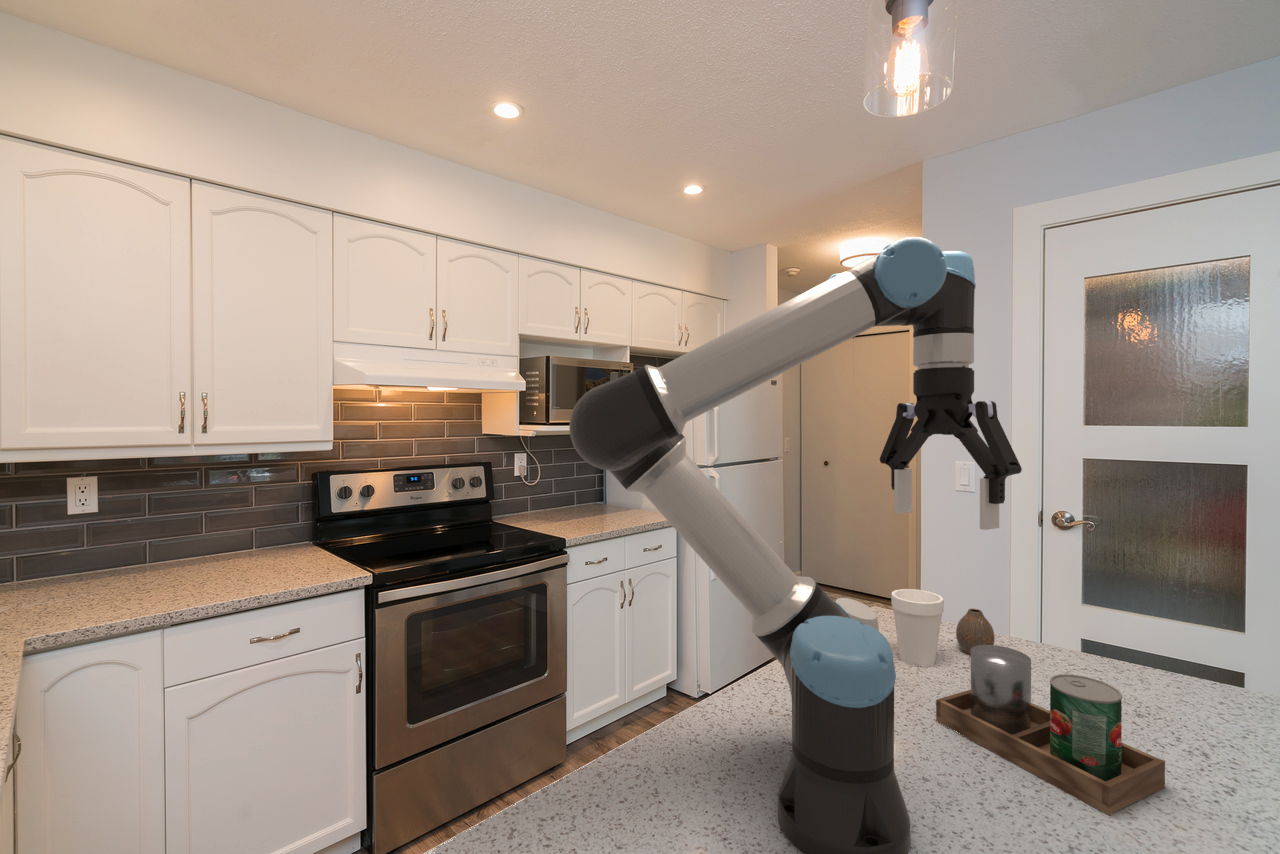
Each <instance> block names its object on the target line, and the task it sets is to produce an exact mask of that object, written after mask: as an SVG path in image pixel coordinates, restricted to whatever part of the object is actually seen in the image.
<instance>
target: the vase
mask: <svg viewBox="0 0 1280 854" xmlns="http://www.w3.org/2000/svg"><path fill="white" fill-rule="evenodd" d="M994 632H995V631H994V629H993V626H992V624H991V623H990V622H989V620H988V619H987V618H986V617H985V615H984V613H983V611H982V610H981V609H978V608H968V610H967V611H966V613H965V614H964V615H963V616H962V618H960V619H959V620H958V622H957V626H956V631H955V636H956V640H957V641H956V642H957V644H958V645H959V647H960V648H961V649H962V651H963V652H964V653H966V654H968V655H970V656H971V648H972V647H974V646H977V645H995V642H996V640H995V633H994Z"/></svg>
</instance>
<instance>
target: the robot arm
mask: <svg viewBox="0 0 1280 854" xmlns="http://www.w3.org/2000/svg"><path fill="white" fill-rule="evenodd" d="M974 266H975V265H974V260H973V257H972V256H971V255H970V254H969V253H968V252H965V251H960V250H944V251H942V250H941V248H940V247H939V246H938V245H937V244H936V243H934V242H933V241H931V240H929V239H927V238H924V237H920V236H908V237H904V238H900V239H898V240H896V241H894V242H893V243H890V244H889V245H886V246H885V247H883V248H882V250H881V251H880V252H878V254H875V255H874V256H873V257H872V256H871V258H868V259H866V260H865V261H862V262H861V263H858V264H856V265H855V266H852V267H851V268H850V269H848V270H846V271H843V272H840V273H833V274H832V275H830V276H829V277H828V279H827V280H825V281H823V282H822V283H820V284H817V285H816V286H814V287H812V288H810V289H809V290H806V291H804V292H802V293H801V294H798V295H796V296H794V297H793V298H791V299H789V300H787V301H785V302H783V303H781V304H779V305H777V306H776V307H773V308H772V309H770V310H768V311H766V312H763V313H762V314H760V315H758V316H756V317H754V318H752V319H750V320H749V321H746V322H744V323H743V324H741V325H739V326H737V327H735V328H733V329H731V330H729V331H727V332H726V333H723V334H721V335H719V336H717V337H715V338H713V339H711V340H709V341H708V342H705V343H704V344H702V345H700V346H698V347H696V348H695V349H692V350H691V351H690V350H689V352H686V353H684V354H682V355H681V356H679V357H677V358H674V359H673V360H671V361H669V362H667V363H666V364H663V365H662V366H658V367H655V366H653V365H649V364H645V365H643V366H641V367H640V368H637V369H635V370H634V371H631V372H629V373H627V374H625V375H623V376H620V377H618V378H616V379H613V380H611V381H608V382H607V381H606V382H605V383H603V384H602V383H601V384H599V385H597V386H596V387H595V386H594V387H593V388H591V389H589V390H588V391H587V392H585V393H584V394H583V395H582V396H581V397H580V398H579V399H578V400H577V402H576V404H575V405H574V406H573V409H572V412H571V414H570V419H569V425H568V426H569V427H568V428H569V429H568V430H569V434H570V435H569V436H570V437H569V438H570V439H571V442H572V445H573V447H574V449H575V451H576V452H577V454H578V455H579V457H581V458H582V459H583V460H584V461H585V462H586V463H588V464H589V465H591V466H592V467H594V468H597V469H599V470H604V471H609V473H610V474H611V475H613V477H614V478H615V479H616V480H617V481H618V482H619V483H620V485H621V486H622V487H623V488H624V489H625V490H626V491H627V492H634V493H635V492H636V493H637V492H638V493H641V494H644V496H645V497H646V498H647V500H649V502H650V503H651V504H652V505H653V506H654V507H655V508H656V510H658V511H659V512H660V514H661V515H662V516H663V517H664V518H665V520H666V521H667V522H668V523H669V524H670V525H671V526H672V527H673V529H674V530H675V531H676V532H677V533H678V534H679V535H680V536H681V537H682V539H683V540H684V541H685V542H686V544H688V545H689V546H690V548H692V549H693V551H694V552H695V553H696V554H697V555H698V556H699V558H701V560H702V561H703V562H704V563H705V564H706V566H708V567H709V569H710V570H711V571H712V573H714V574H715V576H716V577H717V578H718V579H719V580H720V581H721V582H722V583H723V585H724V586H726V588H727V589H728V590H729V591H730V592H731V594H732V595H734V597H735V598H736V599H737V600H738V601H739V602H740V604H741V605H742V607H744V608H745V609H746V610H747V612H748V613H749V614H750V615H751V616H752V617H751V618H752V621H751V623H752V627H751V628H752V629H751V630H752V633H754V635H755V636H756V637H757V639H759V640H760V642H761V643H762V644H763V645H764V647H765V648H766V649H767V650H768V651H769V652H770V653H771V654H772V656H773V657H774V658H775V659H776V660H777V661H778V662H779V664H781V665H780V666H782V668H783V671H784V674H785V677H786V678H785V679H786V680H787V684H788V687H789V690H790V695H791V697H790V698H791V741H792V742H791V744H792V745H791V754H790V758H789V761H788V764H787V767H786V769H785V772H784V775H783V776H782V777H783V778H782V781H781V784H780V786H779V790H778V793H777V794H778V795H777V818H778V819H777V820H778V823H779V825H780V828H781V830H782V831H783V833H784V836H786V837H787V839H788V840H789V841H790V842H791V843H792V844H793V845H794V846H795V847H796V848H797V849H799V850H800V851H801V852H803V853H804V854H908V853H909V851H910V848H911V820H910V814H909V811H908V808H907V805H906V803H905V800H904V796H903V794H902V793H903V792H902V790H901V787H900V785H899V782H898V779H897V775H896V773H895V684H896V679H897V672H896V665H895V661H894V653H893V649H892V646H891V643H890V642H889V641H888V639H887V638H886V636H884V634H883V633H881V632H880V630H879V631H878V630H876V629H875V628H873V627H872V626H870V625H863V624H862V622H861V621H858V620H854V619H851V618H850V617H849V615H848V614H847V613H846V611H845V610H844V609H843V608H842V607H841V606H840V605H839V604H838V603H836V601H834V600H833V599H832V598H831V597H830V596H829V595H828V594H827V592H826V591H824V589H823V588H822V587H821V586H820V585H819V584H818V583H817V581H815V580H814V578H812V577H810V576H799V575H796V574H795V573H794V572H793V571H792V569H791V568H790V567H789V566H788V565H787V564H786V563H785V562H784V561H783V560H782V558H781V557H780V556H779V555H778V554H777V553H776V552H775V551H774V549H773V548H772V547H771V546H770V545H769V544H768V543H767V542H766V541H765V540H764V539H763V537H762V536H761V535H760V534H759V532H757V531H756V529H755V528H753V526H752V525H751V524H750V523H749V522H748V521H747V520H746V518H745V517H744V516H743V515H742V514H741V513H740V512H739V511H738V510H737V509H736V508H735V506H734V505H733V504H732V503H731V502H730V501H729V500H728V498H726V496H725V495H724V494H723V493H722V492H721V491H720V490H719V488H718V487H717V486H716V485H715V484H714V483H713V482H712V480H710V478H709V477H708V476H707V475H706V473H704V472H703V471H702V470H701V468H700V467H699V466H698V465H697V464H696V463H695V462H694V461H693V460H692V459H691V457H690V456H689V455H688V454H687V438H686V436H685V435H684V434H683V431H684V428H685V426H686V424H687V422H690V421H691V420H693V419H695V418H697V417H699V416H701V415H703V414H706V413H707V412H709V411H711V410H712V409H715V408H717V407H719V406H721V405H723V404H724V403H727V402H729V401H731V400H732V399H734V398H736V397H739V396H741V395H742V394H745V393H746V392H748V391H751V390H752V389H754V388H756V387H758V386H760V385H762V384H764V383H766V382H768V381H770V380H772V379H774V378H776V377H778V376H780V375H782V374H784V373H786V372H788V371H790V370H791V369H794V368H795V367H798V366H799V365H802V364H803V363H805V362H808V361H809V360H812V359H813V358H815V357H818V356H820V355H822V354H823V353H826V352H827V351H830V350H831V349H833V348H835V347H836V346H839V345H841V344H843V343H845V342H846V341H849V340H851V339H853V338H855V337H856V336H858V335H860V334H863V333H865V332H867V331H868V330H871V329H872V328H874V327H890V326H892V327H895V326H902V327H903V326H904V327H907V326H912V327H913V333H912V338H913V342H912V343H913V348H912V349H913V350H912V351H913V352H912V356H913V357H912V365H913V366H914V367H917V369H916V370H914V372H913V373H912V376H913V377H912V378H913V385H912V386H913V387H912V389H913V390H912V391H913V393H912V394H913V395H914V396H915V397H916V402H915V403H913V402H911V403H910V402H908V403H907V402H906V403H905V402H900V403H898V404H897V406H896V413H895V415H896V417H895V420H894V422H893V425H892V426H891V429H890V432H889V434H888V437H887V440H886V442H885V444H884V447H883V450H882V452H881V454H880V457H879V461H880V463H881V464H884V465H886V466H888V467H889V468H890V471H891V472H890V474H891V475H890V476H891V477H890V478H891V480H890V481H891V485H890V486H891V489H892V490H893V491H894V504H893V505H894V507H893V508H894V509H893V510H894V514H899V515H900V514H910V513H912V511H913V510H912V509H913V507H912V506H913V505H912V501H913V500H912V497H913V496H912V491H913V489H912V487H913V485H912V483H913V482H912V480H913V479H912V470H913V469H911V468H910V465H909V464H910V463H911V461H912V460H913V459H914V457H915V456H916V455H917V453H918V452H919V451H920V449H921V448H922V447H923V445H924V444H925V443H926V441H927V440H928V438H929V437H931V436H932V435H943V436H949V435H950V436H952V435H953V437H955V438H956V439H958V441H960V442H961V444H962V446H964V448H965V449H966V451H967V452H968V454H970V456H971V457H972V459H973V460H974V461H975V463H976V464H977V465H978V467H979V468H980V469H981V471H982V472H983V474H984V476H983V477H979V530H984V531H987V530H994V529H1000V504H1004V503H1005V501H1006V493H1005V492H1006V479H1007V478H1008V477H1010V476H1013V475H1019V474H1021V473H1022V469H1023V468H1022V465H1021V464H1020V461H1019V460H1018V457H1017V455H1016V453H1015V452H1014V451H1015V450H1014V449H1013V447H1012V445H1011V443H1010V441H1009V439H1008V436H1007V435H1006V432H1005V430H1004V428H1003V426H1002V423H1000V420H999V418H998V409H997V403H996V402H995V401H992V400H989V401H988V400H983V401H982V400H981V401H976V402H975V403H973V399H972V398H973V397H972V396H973V394H974V392H975V370H974V369H973V367H970V365H972V364H973V363H974V362H975V328H974V327H975V323H974V322H975V320H974V319H975V293H976V291H975V290H976V286H977V285H976V281H975V280H976V278H975V277H976V276H975V268H974ZM972 417H974V418H976V421H977V425H978V427H979V429H980V431H981V434H982V436H980V434H979V433H978V432H979V430H978V428H977V426H976V425H974V423H973V422H972V421H971V418H972ZM915 418H917V420H916V422H914V420H915ZM913 423H914V424H913ZM982 437H984V440H985V441H984V440H983V438H982Z"/></svg>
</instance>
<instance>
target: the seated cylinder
mask: <svg viewBox="0 0 1280 854" xmlns="http://www.w3.org/2000/svg"><path fill="white" fill-rule="evenodd" d="M970 690H971V715H973V716H975V717H977V718H979V719H981V720H983V721H985V722H987V723H989V724H991V725H993V726H995V727H997V728H999V729H1001V730H1003V731H1005V732H1007V733H1009V734H1011V735H1013V734H1016V733H1019V732H1021V731H1024V730H1027V729H1030V728H1031V703H1032V659H1031V657H1030V656H1028V655H1027V654H1026V653H1024V652H1021V651H1020V650H1017V649H1014V648H1009V647H1006V646H1003V645H1002V646H1001V645H997V644H996V645H995V644H994V645H977V646H974V647H972V648H971V655H970Z"/></svg>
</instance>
